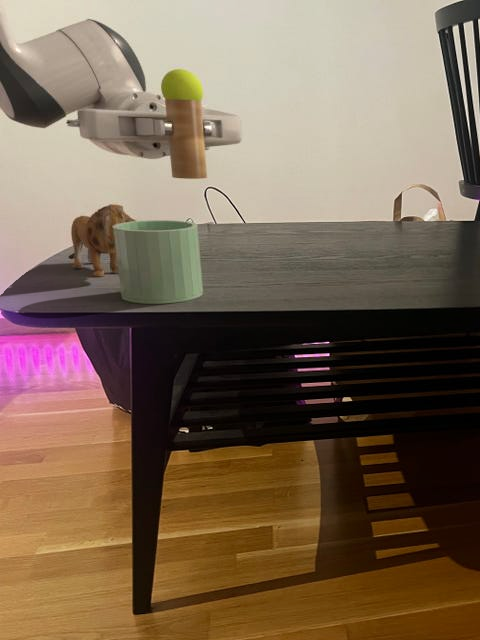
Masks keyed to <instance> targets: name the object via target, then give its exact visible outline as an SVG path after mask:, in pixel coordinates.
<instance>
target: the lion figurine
mask: <svg viewBox="0 0 480 640" xmlns="http://www.w3.org/2000/svg"><path fill="white" fill-rule="evenodd" d="M133 221H137V220H136V219H134V218H132V217H130V215H128V214H127V213H126V212H125V211H124V206H123V205H119V204H113V203H112V204H108V205H106V206H103V207H101V208H98V209H97V210H96V211H95V212H94V213H92V214H91V215H90V216H88V215H80V216H78V217H75V218H74V220H72V224H71V233H70V234H71V241H72V246H73V251H74V252H73V253H71V254H70V255H69V256H67V257H68V259H70V260H74V263H73V265H72V268H73V269H75V270H76V269H83V268H84V265H83V263H82V259H81V258H82V253H81V251H82V249H83V246H84V247H85V248H87V261H88V262H89V263H91V264H92V267H93V276H94V277H97V278H98V277H99V278H100V277H104V276H105V271H104V268H103V266H102V262H101V254H104V255H105V254H106V255H107V254H109V258H110V260H109V269H110V271H111V273H113V274H118V268H117V260H116V252H115V244H114V237H113V229H112V226H114V225H116V224H119V223H125V222H133Z"/></svg>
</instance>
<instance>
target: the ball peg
mask: <svg viewBox="0 0 480 640" xmlns="http://www.w3.org/2000/svg"><path fill="white" fill-rule="evenodd" d="M160 90H161V95H162V96H163V97H164V98H165V106H166V117H167V121H171V123H172V127H171V129H172V131H173V134H172V136H168V138H169V149H170V156H169V158H170V168H171V178H174V179H185V180H187V179H189V180H193V179H194V180H195V179H196V180H197V179H207V178H208V172H207V159H206V150H205V144H204V132H203V119H202V106H201V104H202V99H203V97H204V96H203V95H204V90H203V86H202V83H201V80H200V79H199V78H198V77H197V76H196V75H195V74H194V73H192V72H191V71H189V70H186V69H183V68H177V69H173V70H169V71H168V72H166V74H165V75H164V76H163V78H162V80H161V83H160Z"/></svg>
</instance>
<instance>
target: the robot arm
mask: <svg viewBox="0 0 480 640" xmlns="http://www.w3.org/2000/svg"><path fill="white" fill-rule="evenodd" d="M13 34H14V33H13V31H12V29H11V27H10V24H9V21H8V18H7V16H6V13H5V10H4V7H3V5H2V2H1V1H0V110H1V111H2V112H3V113H4V114H5V115H6V116H7V117H8V119H10V120H12V121H14V122H16V123H19V124H22V125H24V126H28V127H32V128H39V129H46V128H48V127H50V126H52V125H53V124H55V123H58V122H59V121H61V120H62V119H64V118H66V117H67V115H70V114H73V113H75V112H76V113H77V119H67V120H66V123H65V124H66V125H67V127H71V128H78V129H79V135H80V137H81V138H82V139H85V140H89V141H90V142H91V143H92V144H94V145H95V146H96V147H98V148H100V149H102V150H103V151H105V152H109V153H112V154H115V155H116V154H117V155H120V156H131V157H135V158H141V159H142V158H143V159H148V160H157V159H161V158H164V157H170V149H169V138H168V136H172V134H173V131H172V129H171V127H172V123H171V121H167V117H166V106H165V98H164V97H163V95H160V94H157V93H155V92H152V91H147V83H146V75H145V73H144V70H143V67H142V65H141V63H140V61H139V58H138V57H137V55H136V53H135V52H134V49H133V48H132V46H131V45H130V44H129V42H128V41H127V40H126V39H125V38H124V37H123V36H122V35H121V34H120V33H119V32H117V31H116V30H114V29H112V28H111V27H109V26H107V25H106V24H105V23H102V22H100V21H98V20H96V19H91V18H87V19H85V20H82V21H78V22H77V23H72V24H69V25H67V26H65V27H61V28H59V29H57V30H55V31H52V32H50V33H48V34H47V33H46V34H44V35H42V36H38V37H36V38H34V39H31V40H28V41H25V42H22V43H17V42H16V40H15V37H14V35H13ZM201 106H202V119H203V132H204V144H205V151H209V150H210V148H212V147H222V146H223V147H224V146H231V145H232V146H233V145H239V144H240V143H241V142H242V141H243V125H242V120H241V118H240V116H238V115H237V114H233V113H230V112H224V111H221V110H216V109H215V110H214V109H210V108H207V105H206V104H203V103H201Z"/></svg>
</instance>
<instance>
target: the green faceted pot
mask: <svg viewBox="0 0 480 640" xmlns="http://www.w3.org/2000/svg"><path fill="white" fill-rule="evenodd" d="M112 229H113V237H114V244H115V252H116V260H117V268H118V273H117V275H118V276H117V277H118V282H119V291H120V297H121V299H122V300H123V301H125V302H129V303H134V304H142V305H143V304H144V305H162V304H175V303H182V302H188V301H192V300H195V299H197V298H198V299H199V298H200V297H201V296H202V297H203V295H204V281H203V271H202V270H203V269H202V259H201V247H200V237H199V236H200V235H199V226H198V224H197V223H195V222H191V221H184V220H170V219H169V220H168V219H166V220H164V219H160V220H159V219H153V220H151V219H149V220H136V221H133V222H125V223H119V224H116V225H114V226H112Z"/></svg>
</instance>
